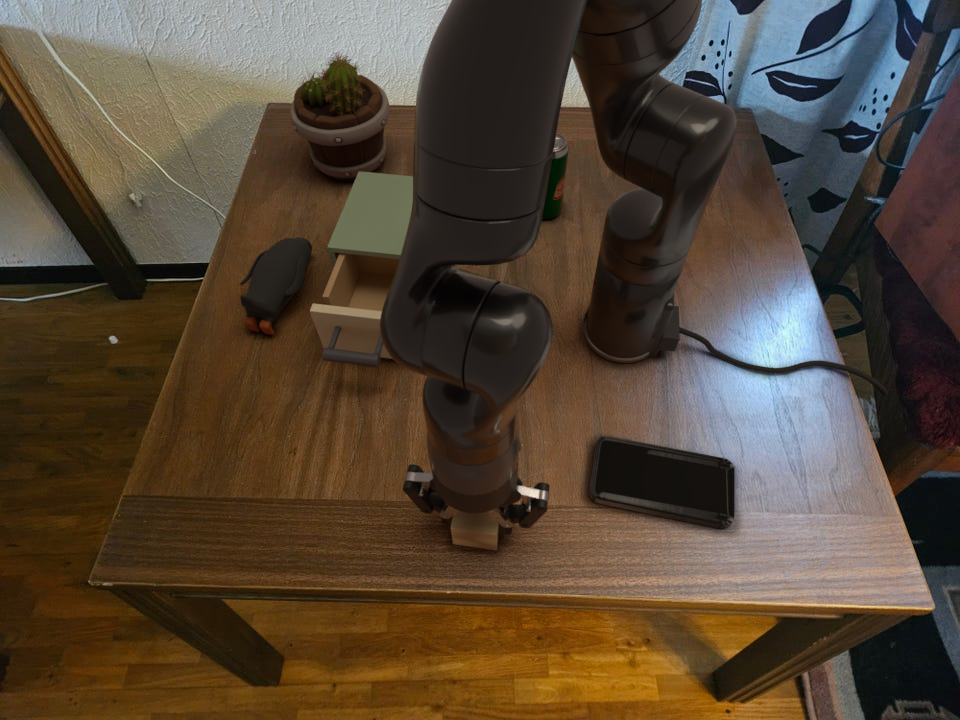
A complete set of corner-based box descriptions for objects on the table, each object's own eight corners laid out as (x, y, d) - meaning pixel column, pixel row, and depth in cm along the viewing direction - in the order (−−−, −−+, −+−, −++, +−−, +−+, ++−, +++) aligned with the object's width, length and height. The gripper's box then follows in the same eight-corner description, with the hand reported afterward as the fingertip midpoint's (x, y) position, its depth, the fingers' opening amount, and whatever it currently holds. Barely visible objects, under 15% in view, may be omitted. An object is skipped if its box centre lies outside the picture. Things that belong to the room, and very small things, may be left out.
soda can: (559, 223, 93) (567, 155, 84) (525, 219, 94) (529, 150, 84) (563, 200, 96) (571, 132, 86) (530, 196, 97) (534, 128, 87)
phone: (734, 527, 65) (588, 496, 67) (731, 530, 66) (587, 501, 68) (734, 459, 70) (597, 433, 72) (731, 463, 71) (596, 437, 73)
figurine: (294, 348, 84) (335, 256, 90) (266, 311, 75) (313, 212, 81) (244, 336, 86) (287, 246, 91) (210, 299, 76) (261, 201, 82)
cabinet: (433, 308, 84) (427, 257, 77) (342, 298, 86) (326, 247, 78) (453, 232, 93) (449, 179, 85) (369, 224, 94) (358, 171, 86)
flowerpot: (291, 152, 104) (254, 30, 88) (377, 124, 108) (357, 2, 92) (322, 204, 97) (287, 81, 80) (413, 172, 101) (398, 49, 84)
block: (502, 508, 68) (503, 491, 64) (496, 550, 65) (496, 535, 62) (460, 502, 69) (458, 485, 65) (452, 544, 66) (450, 528, 62)
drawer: (404, 393, 76) (395, 355, 69) (312, 381, 77) (296, 343, 71) (434, 281, 86) (429, 238, 80) (353, 272, 87) (342, 230, 81)
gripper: (379, 480, 51) (404, 550, 65) (555, 505, 50) (542, 571, 64) (400, 402, 56) (419, 483, 70) (563, 423, 54) (549, 501, 68)
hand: (478, 525), depth 67 cm, fingers closed on block, 4 cm apart
